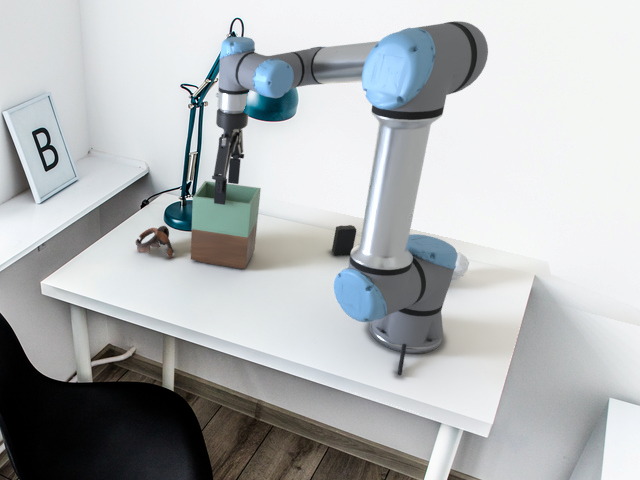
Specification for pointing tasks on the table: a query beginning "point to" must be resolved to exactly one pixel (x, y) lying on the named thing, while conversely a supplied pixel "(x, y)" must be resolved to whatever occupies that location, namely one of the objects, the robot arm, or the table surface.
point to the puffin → (460, 266)
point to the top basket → (226, 210)
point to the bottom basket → (222, 248)
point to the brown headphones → (155, 240)
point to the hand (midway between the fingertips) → (226, 193)
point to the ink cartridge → (343, 240)
